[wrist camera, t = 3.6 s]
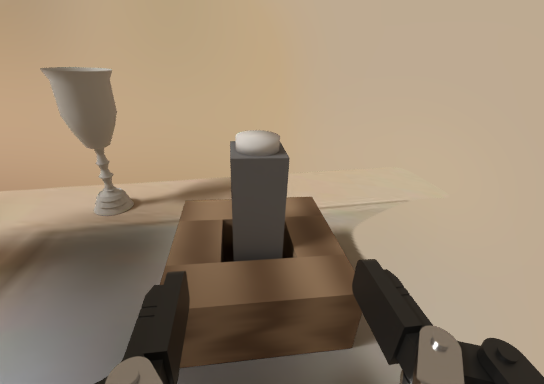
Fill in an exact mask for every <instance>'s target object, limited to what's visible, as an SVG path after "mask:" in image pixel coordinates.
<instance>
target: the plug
mask: <svg viewBox="0 0 544 384" xmlns="http://www.w3.org/2000/svg"><path fill="white" fill-rule="evenodd" d="M230 149H231V150H230V162H231V193H232V223H233V253H234V261H250V260H265V259H281V258H282V252H283V238H284V225H285V211H286V197H287V184H288V169H289V157H288V155H287V153H286V151H285V150H284V148H283V146H282V144H281V143H280V136H279V135H278V134H276V133H273V132H269V131H261V130H250V131H243V132H239V133H237V134H236V141H231V142H230Z"/></svg>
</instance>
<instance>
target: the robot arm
mask: <svg viewBox="0 0 544 384" xmlns="http://www.w3.org/2000/svg"><path fill="white" fill-rule="evenodd" d="M352 291H353V294H354V297H355V299H356V301H357V303H358V305H359V307H360V309H361V311H362V313H363V315H364V317H365V319H366V321H367V323H368V324H369V326H370V328H371V330H372V332H373V334H374V336H375V338H376V340H377V342H378V344H379V346H380V348H381V350H382V352H383V354H384V356H385V358H386V360H387V362H388V364H389V365H391V364H400V366H401V368H402V372H401V375H400V384H544V377H543V376H542V375H541V374H540V373H539V371H537V369H536V368H535V367H534V366H533V365H532V364H531V363H530V362H529V361H528V360H527V358H526V357H525V356H524V355H523V354H522V353H521V352H520V351H519V350H517V349H516V348H515V347H513V346H512V345H510V344H509V343H507V342H505V341H502V340H500V339H496V338H488V339H486V340H484V342H483V343H482V345H481V346H478V345H473V344H469V343H464V342H459V341H457V340H456V339H455V338H454V337H453V336H452V335H451V334H450V333H448V332H447V331H445V330H443V329H441V328H439V327H436V326H433V325H432V324H431V322H430V321H429V319H428V318H427V317H426V315H425V314H424V313H423V311H422V310H421V309H420V307H419V306H418V305H417V303H416V302H415V301H414V299H413V298H412V297H411V296H410V295H409V293H408V291H407V290H406V289H405V288H404V286H403V285H402V283H401V282H400V281H399V279H398V278H397V277H396V276H395V275H394V274H392V273H391V272H390V271H388V270H387V269H386V270H383V269H382V267H381V266H380V264H379V263H378V262H377V260H375V259H368V260H359V261H358V262H357V266H356V270H355V274H354V278H353V282H352ZM189 305H190V296H189V288H188V281H187V274H186V271H174V272H167V274H166V278H165V281H164V285H154V286H153V287H152V289H151V290H150V291H149V292H148V293H147V294H146V296H145V299H144V301H143V304H142V309H141V310H140V313H139V316H138V319H137V321H136V324H135V327H134V330H133V333H132V335H131V338H130V341H129V344H128V347H127V350H126V352H125V355H124V358H123V360H122V361H121V363H120V364H118V365H117V366H116V367H115V368H114V369H113V370H112V371H111V373H110V374H109V376H107V377H106V378H104V379H103V380H101V381H99V382H97V383H95V384H177V381H178V375H179V369H180V362H181V356H182V350H183V344H184V338H185V332H186V326H187V319H188V313H189Z"/></svg>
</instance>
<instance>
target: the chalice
mask: <svg viewBox="0 0 544 384" xmlns="http://www.w3.org/2000/svg"><path fill="white" fill-rule="evenodd" d="M41 71H42V72H43V73H44V74H45V76H46V77H47V78H48V79H49V80H50V84H51V87H52V90H53V93H54V96H55V99H56V103H57V106H58V109H59V112H60V115H61V117H62V118H63V120H64V121H65V122H66V124H67V125H68V127H69V128H70V130H71V131H72V132H73V133H74V134H75V135H76V137H77V138H78V139H79V140H80V141H81V142H82V143H83V144H84V145H85V146H86V147H87V148H91V149H94V150H95V152H96V154H97V162H96V164H97V165H98V166H99V167H100V169H101V174H100V175H99V178H101V179H102V180H103V181H104V183H105V188H104V189H103V191H101V192H100V193H99V194H98V195H97V197H96V199H97V200H96V203H95V205H96V206H95V208H94V212H95V213H96V214H97V215H102V216H110V215H116V214H120V213H123V212H125V211H127V210H129V209H130V208H131V207H132V206H133V204H134V202H133V201H132V200H131V199H130V197H129V196H128V195H127V194H126V192H125V191H124V190H122V189H120V188H116V187H114V186H113V184H112V176H113V174H112V173H110V171H109V170H108V164H109V161H108V160H107V158H106V157H105V155H104V148H105V147H107V146H108V145H110V142H111V139H112V135H113V131H114V127H115V121H116V113H117V111H116V106H115V102H114V97H113V93H112V88H111V84H110V76H111V72H112V69H104V68H79V67H78V68H77V67H67V68H66V67H57V68H41Z"/></svg>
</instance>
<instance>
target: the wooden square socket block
mask: <svg viewBox="0 0 544 384" xmlns="http://www.w3.org/2000/svg"><path fill="white" fill-rule="evenodd" d="M174 271H186V274H187V281H188V288H189V296H190V305H189V313H188V319H187V326H186V332H185V338H184V344H183V350H182V356H181V362H180V368H184V367H193V366H201V365H210V364H219V363H227V362H236V361H244V360H253V359H261V358H270V357H279V356H287V355H296V354H304V353H313V352H321V351H330V350H339V349H347V348H352V346H353V342H354V339H355V335H356V332H357V328H358V325H359V321H360V318H361V314H362V311H361V309H360V307H359V305H358V303H357V301H356V299H355V297H354V294H353V291H352V282H353V278H354V274H355V271H354V269H353V267H352V266H351V264H350V262H349V260H348V259H347V257H346V255H345V253H344V252H343V250H342V248H341V246H340V245H339V243H338V241H337V240H336V238H335V236H334V234H333V233H332V231H331V229H330V227H329V226H328V224H327V222H326V220H325V219H324V217H323V215H322V213H321V212H320V210H319V208H318V207H317V205H316V203H315V201H314V200H313V198H312V197H290V198H286V211H285V225H284V238H283V252H282V258H281V259H265V260H250V261H234V253H233V223H232V199H225V200H192V201H185V204H184V208H183V211H182V214H181V217H180V221H179V224H178V227H177V230H176V234H175V237H174V240H173V243H172V247H171V250H170V253H169V256H168V260H167V263H166V266H165V269H164V273H163V276H162V279H161V282H160V285H164V281H165V278H166V274H167V272H174Z"/></svg>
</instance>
